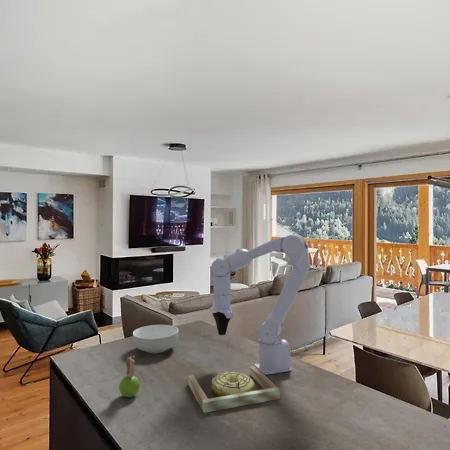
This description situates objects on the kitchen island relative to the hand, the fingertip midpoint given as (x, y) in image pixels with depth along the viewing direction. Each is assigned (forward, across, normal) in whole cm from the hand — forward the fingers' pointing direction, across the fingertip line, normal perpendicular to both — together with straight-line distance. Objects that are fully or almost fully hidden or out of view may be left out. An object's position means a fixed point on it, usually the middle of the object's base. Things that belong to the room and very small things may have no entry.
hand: (222, 334), depth 120 cm
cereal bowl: (+10, -20, -19) cm, 29 cm away
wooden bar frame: (+9, +20, -5) cm, 23 cm away
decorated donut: (+10, +21, -4) cm, 23 cm away
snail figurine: (+10, +14, -31) cm, 36 cm away
